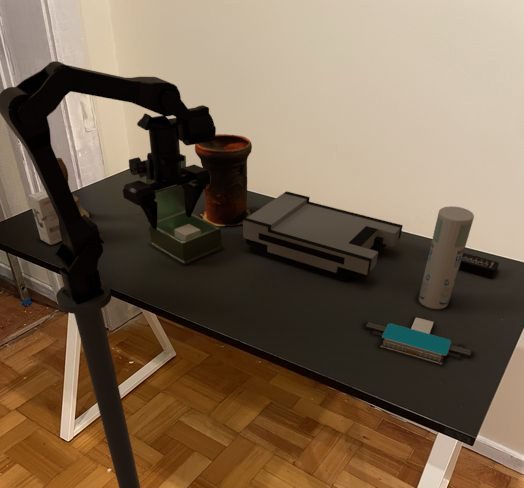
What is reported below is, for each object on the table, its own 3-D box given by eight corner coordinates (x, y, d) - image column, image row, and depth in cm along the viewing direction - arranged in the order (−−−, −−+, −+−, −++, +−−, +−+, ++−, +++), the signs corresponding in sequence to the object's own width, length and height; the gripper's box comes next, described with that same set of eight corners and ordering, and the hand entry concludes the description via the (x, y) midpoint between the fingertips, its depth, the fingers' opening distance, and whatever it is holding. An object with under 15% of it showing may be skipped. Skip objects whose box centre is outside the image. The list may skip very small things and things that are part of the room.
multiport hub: (436, 253, 128) (438, 245, 127) (496, 270, 122) (499, 262, 121) (430, 261, 125) (432, 252, 124) (491, 279, 119) (494, 270, 118)
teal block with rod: (475, 336, 102) (477, 329, 101) (465, 372, 94) (467, 365, 93) (376, 309, 109) (377, 303, 108) (358, 341, 100) (359, 334, 99)
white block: (187, 252, 125) (185, 235, 122) (175, 246, 128) (174, 229, 125) (201, 246, 128) (200, 229, 125) (190, 240, 130) (188, 223, 127)
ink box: (69, 228, 136) (59, 184, 128) (80, 234, 133) (70, 189, 126) (39, 239, 131) (27, 194, 123) (50, 245, 128) (38, 200, 121)
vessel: (216, 201, 150) (213, 129, 138) (260, 211, 146) (261, 137, 133) (189, 221, 140) (183, 145, 128) (236, 232, 136) (234, 154, 123)
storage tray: (221, 249, 128) (220, 228, 125) (184, 265, 122) (182, 243, 118) (187, 231, 135) (186, 210, 132) (151, 245, 129) (148, 224, 126)
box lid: (186, 155, 122) (173, 148, 124) (145, 167, 116) (132, 159, 118) (186, 209, 132) (175, 202, 134) (149, 223, 125) (137, 215, 128)
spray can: (444, 312, 108) (470, 223, 96) (414, 304, 111) (435, 215, 98) (452, 298, 113) (477, 210, 100) (422, 289, 115) (443, 203, 102)
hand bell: (73, 227, 136) (59, 166, 126) (50, 219, 140) (35, 160, 130) (96, 215, 142) (84, 156, 132) (73, 208, 145) (60, 150, 135)
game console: (364, 289, 115) (370, 256, 110) (243, 251, 128) (243, 220, 122) (397, 251, 129) (403, 220, 123) (285, 220, 141) (286, 191, 136)
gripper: (177, 131, 113) (182, 200, 123) (102, 149, 102) (114, 223, 112) (211, 143, 107) (213, 215, 117) (134, 163, 96) (144, 240, 106)
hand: (171, 222), depth 113 cm, fingers open, 9 cm apart
